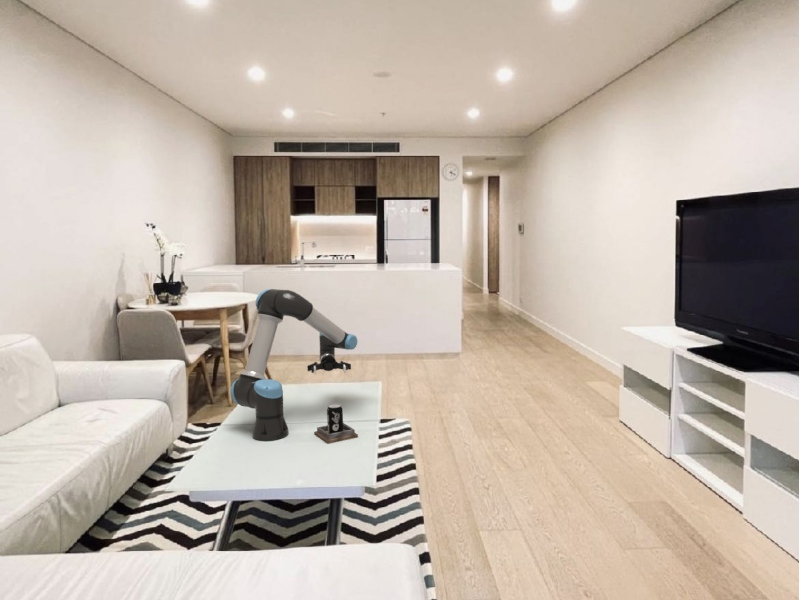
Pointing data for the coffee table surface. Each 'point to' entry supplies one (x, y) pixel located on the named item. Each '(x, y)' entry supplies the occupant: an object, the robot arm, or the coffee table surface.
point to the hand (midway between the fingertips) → (330, 370)
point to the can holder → (335, 434)
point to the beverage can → (335, 418)
